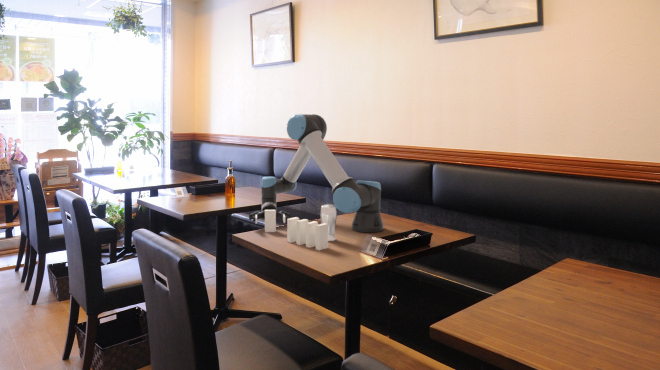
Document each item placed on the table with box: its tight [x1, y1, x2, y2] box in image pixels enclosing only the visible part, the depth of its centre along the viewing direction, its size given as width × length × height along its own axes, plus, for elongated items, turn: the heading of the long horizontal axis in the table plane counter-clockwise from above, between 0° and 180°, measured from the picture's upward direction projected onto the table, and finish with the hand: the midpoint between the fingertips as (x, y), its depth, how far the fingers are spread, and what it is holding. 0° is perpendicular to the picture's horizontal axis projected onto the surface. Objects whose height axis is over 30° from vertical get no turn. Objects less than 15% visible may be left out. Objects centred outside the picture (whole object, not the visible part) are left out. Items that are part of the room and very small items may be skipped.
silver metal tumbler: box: [320, 203, 338, 243], centre depth 209 cm, size 7×7×15 cm
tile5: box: [315, 223, 329, 251], centre depth 196 cm, size 2×5×10 cm, turn 138°
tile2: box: [286, 216, 300, 244], centre depth 207 cm, size 2×5×10 cm, turn 138°
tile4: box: [305, 220, 319, 248], centre depth 200 cm, size 2×5×10 cm, turn 138°
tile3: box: [295, 218, 309, 246], centre depth 203 cm, size 2×5×10 cm, turn 139°
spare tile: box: [264, 210, 277, 233], centre depth 223 cm, size 2×5×10 cm, turn 98°
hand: (270, 220), depth 220 cm, fingers open, 12 cm apart
